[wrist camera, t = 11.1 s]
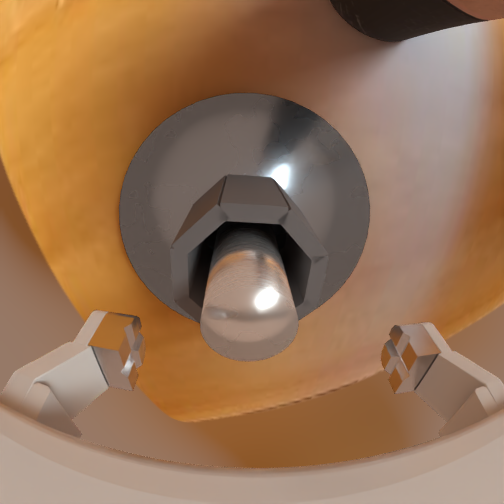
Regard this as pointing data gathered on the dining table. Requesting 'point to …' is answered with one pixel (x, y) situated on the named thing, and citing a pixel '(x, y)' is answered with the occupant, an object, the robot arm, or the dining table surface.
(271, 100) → the grey metal round base
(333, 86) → the dining table surface
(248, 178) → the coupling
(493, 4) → the travel mug
